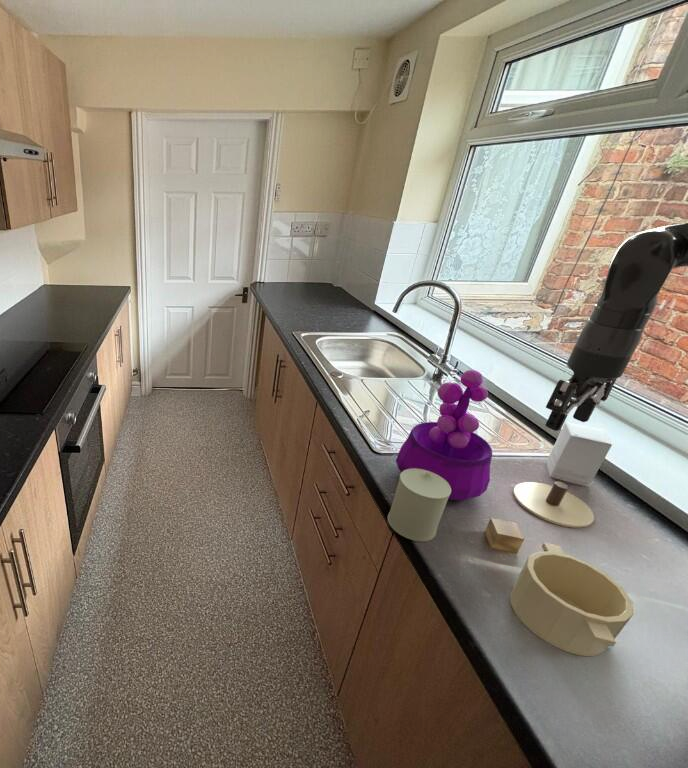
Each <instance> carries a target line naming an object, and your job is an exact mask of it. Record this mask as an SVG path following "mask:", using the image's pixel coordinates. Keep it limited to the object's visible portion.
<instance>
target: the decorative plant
mask: <svg viewBox="0 0 688 768" xmlns="http://www.w3.org/2000/svg"><path fill="white" fill-rule="evenodd" d="M483 382H484V379H483V375H482V373H481V372H480V371H478V370H476V369H469V370H465V371H464V372H463V373H462V374H461V375H460V383H461V384H462V386H465V387H466V388H465V390H463V387H462V386H461V385H460V384H459V383H458V382H451V381H447V382H444V383H442V384H441V385H440V386H439V387H438V389H437V397H438V398H439V400H440V401H442V403H441V404H440V406H439V415H440V416H439V417H438V418H437V421H427V422H426V421H425V422H420V423H418V424H416V425H414V426H413V427H412V428H411V430H410V432H409V434H408V436H407V438H406V440H405V441H404V442H403V443H402V444H401V446H400V449H399V452H398V453H397V457H396V459H395V463H396V466H397V469H398V470H399V472H400V474H401V473H402V472H403V471H404V470H406V469H412V468H416V469H423V470H427V471H430V472H433V473H435V474H437V475H439V476H440V477H442V478H443V479H445V480H446V481H447V482H448V484H449V485H450V487H451V494H450V496H449V498H448V500H447V501H449V500H450V501H464V500H469V499H473V498H477V497H480V496H481V495H483V494H484V493H485V492H486V491H487V490H488V487H489V484H490V477H491V464H492V463H491V462H492V458H493V449H492V446H491V445H490V444H489V442H488V441H487V440H486V439H484V438H483V437H481V436H480V435H478V434H477V433H475V432H476V431H477V430H478V429H479V428H480V422H479V419H478V418H477V417H476V416H475V415H474V414H472V413H468V408H469V405H470V400H471V401H473V402H475V403H479V402H481V403H482V402H483V401H484V400H487V398H488V396H489V391H488V389H487V388H486V387H484V386H482V384H483ZM456 403H457V404H456Z"/></svg>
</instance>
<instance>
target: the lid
mask: <svg viewBox="0 0 688 768" xmlns="http://www.w3.org/2000/svg"><path fill="white" fill-rule="evenodd" d="M568 490H569V485H568V484H567V483H565V482H563V481H560V480H559V481H558V480H556V481H554V483H553V484H552V485H551V484H546V483H541V482H535V481H525V482H519V483H517V484H516V485H515V486H514V488H513V490H512V493H513V497H514V499H515V500H516V501H517V503H518V504H519V505H520V506H521V507H523V508H524V510H526V511H527V512H529V513H531V514H532V515H534V516H535V517H538V518H540V519H542V520H544V521H545V522H548V523H552V524H555V525H558V526H561V527H567V528H574V529H582V528H586V527H589V526H592V524H593V523H594V520H595V515H594V512H593V510H592V509H591V508H590V507H589V506H588V505H587V504H586V503H585V502H584V501H583V500H581V498H578V497H577V496H575V495H573V494H571V492H568Z"/></svg>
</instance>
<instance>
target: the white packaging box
mask: <svg viewBox="0 0 688 768" xmlns="http://www.w3.org/2000/svg"><path fill="white" fill-rule="evenodd" d="M612 446H613V443H612V441H611V440H610V438H609V436H608V434H607V432H606V430H605V429H601V428H596V427H593V426H588V425H582V424H578V423H573V422H567V421H565V422H564V424H563V426H562V428H561V429H560V432H559V434H558V437H557V439H556V441H555V442H554V445H553V447H552V449H551V451H550V453H549V455H548V457H547V459H546V461H545V463H546V468H547V472H548V474H549V475H548V476H549V477H550V478H552V479H556V480H559V481H562V482H563V481H564V482H567V483H571V484H574V485H579V486H583V487H587V488H589V487H590V486H591V484H592V482H593V480H594V479H595V476H596V475H597V473H598V471H599V469H601V466H602V464H603V462H604V460H605V459H606V457H607V455H608V453H609V451H610V450H611V448H612Z"/></svg>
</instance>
